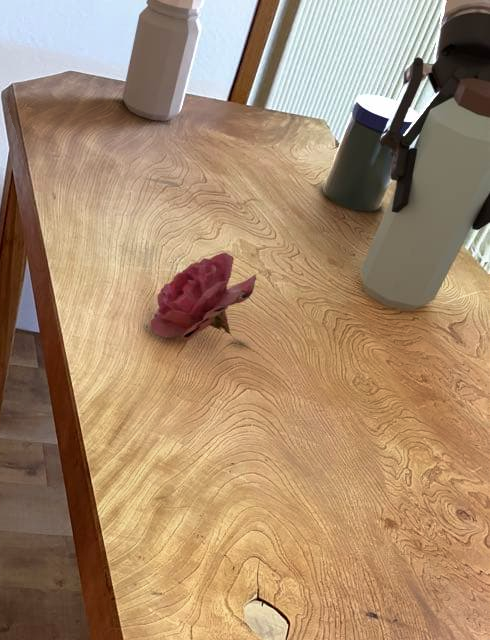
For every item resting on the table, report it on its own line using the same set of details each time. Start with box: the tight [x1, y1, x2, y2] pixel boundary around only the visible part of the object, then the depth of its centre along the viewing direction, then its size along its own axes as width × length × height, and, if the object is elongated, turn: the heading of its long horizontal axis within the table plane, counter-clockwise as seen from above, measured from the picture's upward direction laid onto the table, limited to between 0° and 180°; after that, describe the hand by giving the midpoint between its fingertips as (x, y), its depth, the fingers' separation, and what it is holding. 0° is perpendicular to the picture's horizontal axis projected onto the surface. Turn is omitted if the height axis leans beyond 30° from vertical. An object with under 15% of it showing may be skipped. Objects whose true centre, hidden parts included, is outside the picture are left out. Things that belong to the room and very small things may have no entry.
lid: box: [350, 94, 419, 135], centre depth 126 cm, size 9×9×2 cm
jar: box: [122, 0, 205, 122], centre depth 139 cm, size 10×10×18 cm
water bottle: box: [359, 78, 490, 312], centre depth 106 cm, size 10×10×25 cm
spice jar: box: [322, 112, 393, 212], centre depth 131 cm, size 9×9×13 cm
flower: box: [150, 252, 257, 346], centre depth 96 cm, size 11×10×10 cm
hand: (440, 216), depth 104 cm, fingers closed on water bottle, 9 cm apart
